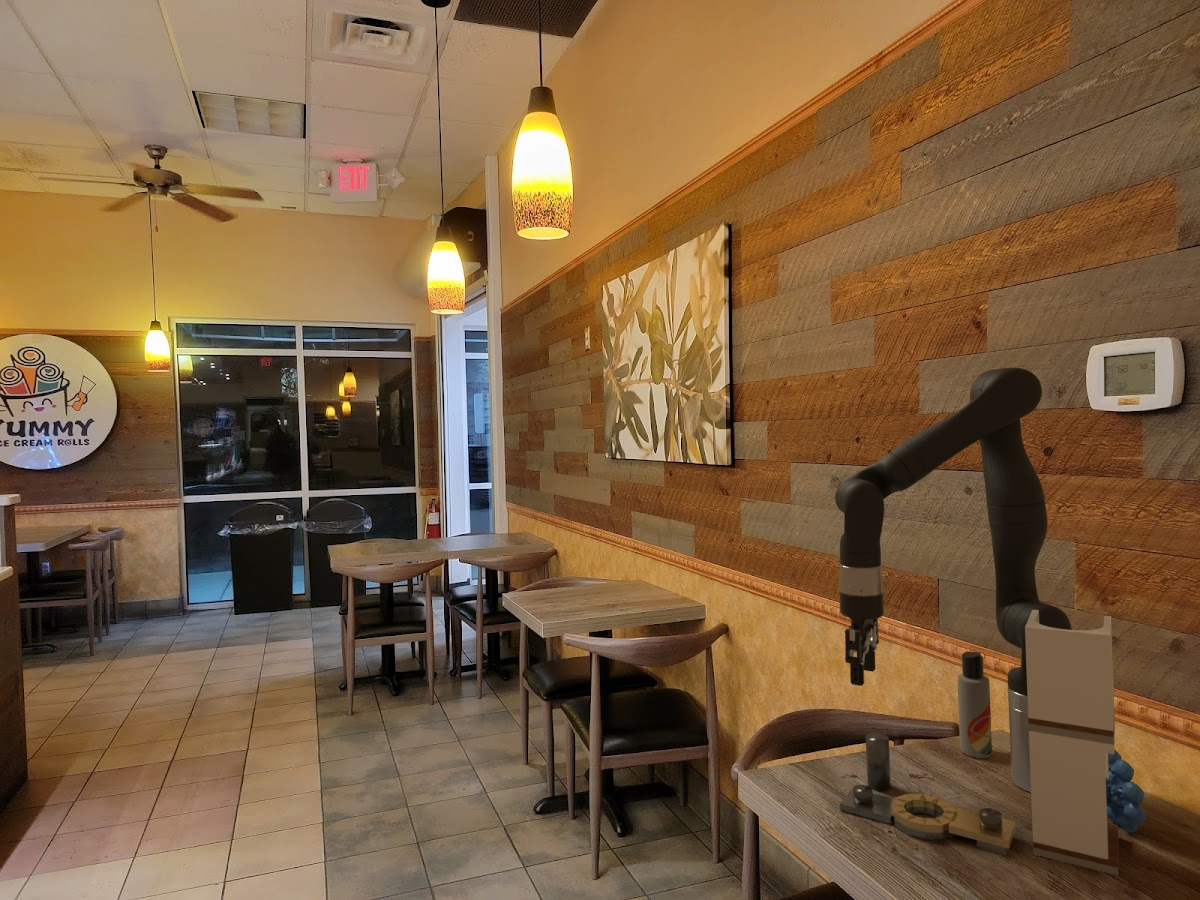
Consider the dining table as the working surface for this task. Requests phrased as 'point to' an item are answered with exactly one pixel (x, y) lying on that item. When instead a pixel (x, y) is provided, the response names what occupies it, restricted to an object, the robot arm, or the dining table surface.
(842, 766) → the dining table surface
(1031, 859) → the dining table surface
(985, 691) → the lotion bottle
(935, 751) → the dining table surface
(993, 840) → the tan piece
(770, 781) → the dining table surface
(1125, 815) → the grapes
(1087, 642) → the beige rectangular tower
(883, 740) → the pin
